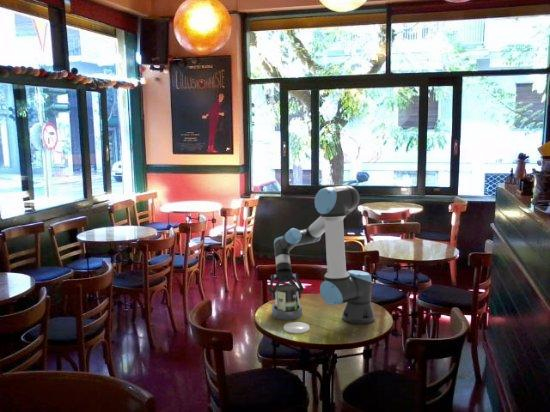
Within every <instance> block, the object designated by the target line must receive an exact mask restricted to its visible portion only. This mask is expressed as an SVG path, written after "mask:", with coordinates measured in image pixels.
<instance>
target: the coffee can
mask: <svg viewBox="0 0 550 412" xmlns="http://www.w3.org/2000/svg"><path fill="white" fill-rule="evenodd" d="M297 286H298V285H297ZM297 286H295V285H291V284H290V283H289V284H288V283H285V284H280V285H279V286H277V287H276V289H277V290H276V292H277V302H278V305H277V310H279V311H294V310H297Z"/></svg>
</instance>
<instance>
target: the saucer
mask: <svg viewBox="0 0 550 412" xmlns="http://www.w3.org/2000/svg"><path fill="white" fill-rule="evenodd" d="M310 329H311V328H310V325H309V324H308V323H305V322H301V321H293V322H287V323H285V324H284V325H283V331H284V332H285V333H288V334H289V333H290V334H295V335H297V334H304V333H307V332H309V331H310Z"/></svg>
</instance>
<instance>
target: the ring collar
mask: <svg viewBox="0 0 550 412" xmlns="http://www.w3.org/2000/svg"><path fill="white" fill-rule="evenodd" d="M271 316H272V318H275V319H277V320H282V321H291V320H292V321H293V320H297V319H299V318H301V317H302V316H303V306H302V305H301V304H299V306H298V305H297V310H294V311H279V310H277V307H276V304H275V303H274V304H273V305H272V306H271Z"/></svg>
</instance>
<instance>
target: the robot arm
mask: <svg viewBox="0 0 550 412" xmlns="http://www.w3.org/2000/svg"><path fill="white" fill-rule="evenodd" d="M314 197H315V198H314V207H315V209H316V211H317V212H318V213H319V214H320V216H319V217H318V218H317V219H316V220H314V221H313V222H312V223H311V224H310V225H309V226H308V227H307V228H305V229H298V228H295V227H292V228H290V229H289V230H288V231H287V232H285V234H284V235H282V236H278V237H276V238H274V241H273V249H274V250H273V251H274V259H275V268H276V269H275V270H276V274H273V273H271V274H270V279H271V280H270V283H269V288H268V294H271V295H272V300H273V301H274V302H275V303H274V304H276V307H277V305H278V302H277V289H276V287H277V286H279V285H281V283H289V284H291V285H295V286H297V305H298V306H299V304H300V299H301V298H302V293H303V292H304V289H305V288H304V286H303V284H302V282H301V280H300V278H299V273H298V272H296V273H293V272H292V265H291V263H292V262H291V257H290V255H291V254H290V251H292V249H294V247H297V246H302V245H303V246H304V245H308V244H314V243H316V242H319V241H320V240H321V238H322V235H323V234H325V235H324V237H325V252H326V253H325V254H326V266H327V270H326V273H325V274H324V281H322V282H321V283H320V286H319V292H320V296H321V298H322V300H324V302H325V303H326V304H327V305H330V306H339V305H342V304H345V305H344V308H343V311H342V319H343V321H345V322H347V323H351V324H358V325H359V324H360V325H364V324H365V325H366V324H370V323H372V322H374V321H375V312H374V308H373V305H372V283H373V281H372V275H371V274H370V273H369V272H367V271H362V270H354V269H351V270H347V266H346V265H347V263H346V244H345V230H344V229H345V228H344V219H345V218H346V217H347V215H349V214H351V213H352V212H353V211H354V210H355V209H356V208H357V207H358V205H359V203H360V194H359V191H358V190H357V189H356V188H355V187H354V186H351V185H347V184H344V185H336V186H327V187H324V188H321V189H319V190H318V191H317V193H316V194H315V196H314ZM276 278H277V281H276V283H275V285H274V287H273V284H274V281H275V279H276ZM293 278H294V280H295V282H294V280H293ZM300 305H301V304H300Z"/></svg>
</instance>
